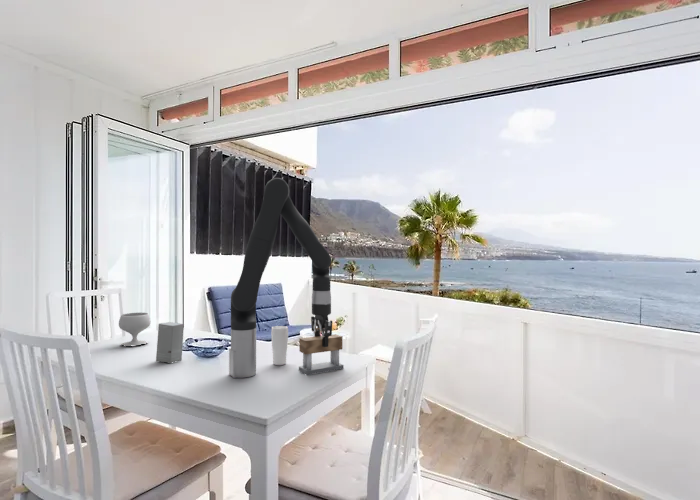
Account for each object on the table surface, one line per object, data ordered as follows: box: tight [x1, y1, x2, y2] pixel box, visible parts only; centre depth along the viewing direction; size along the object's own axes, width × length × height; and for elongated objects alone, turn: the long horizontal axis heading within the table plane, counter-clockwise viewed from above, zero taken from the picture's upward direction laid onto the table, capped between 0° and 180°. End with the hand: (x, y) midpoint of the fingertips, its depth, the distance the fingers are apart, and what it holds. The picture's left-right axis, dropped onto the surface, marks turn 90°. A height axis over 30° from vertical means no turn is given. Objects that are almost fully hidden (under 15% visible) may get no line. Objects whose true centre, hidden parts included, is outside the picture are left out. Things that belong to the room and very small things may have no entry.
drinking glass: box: [270, 325, 289, 366], centre depth 167 cm, size 7×7×15 cm
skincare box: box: [155, 321, 185, 364], centre depth 172 cm, size 8×7×16 cm
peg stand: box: [298, 350, 345, 376], centre depth 159 cm, size 16×7×8 cm, turn 121°
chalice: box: [118, 312, 151, 347], centre depth 202 cm, size 14×14×15 cm
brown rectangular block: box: [298, 333, 343, 354], centre depth 159 cm, size 16×6×5 cm, turn 121°
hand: (321, 344), depth 159 cm, fingers open, 6 cm apart
